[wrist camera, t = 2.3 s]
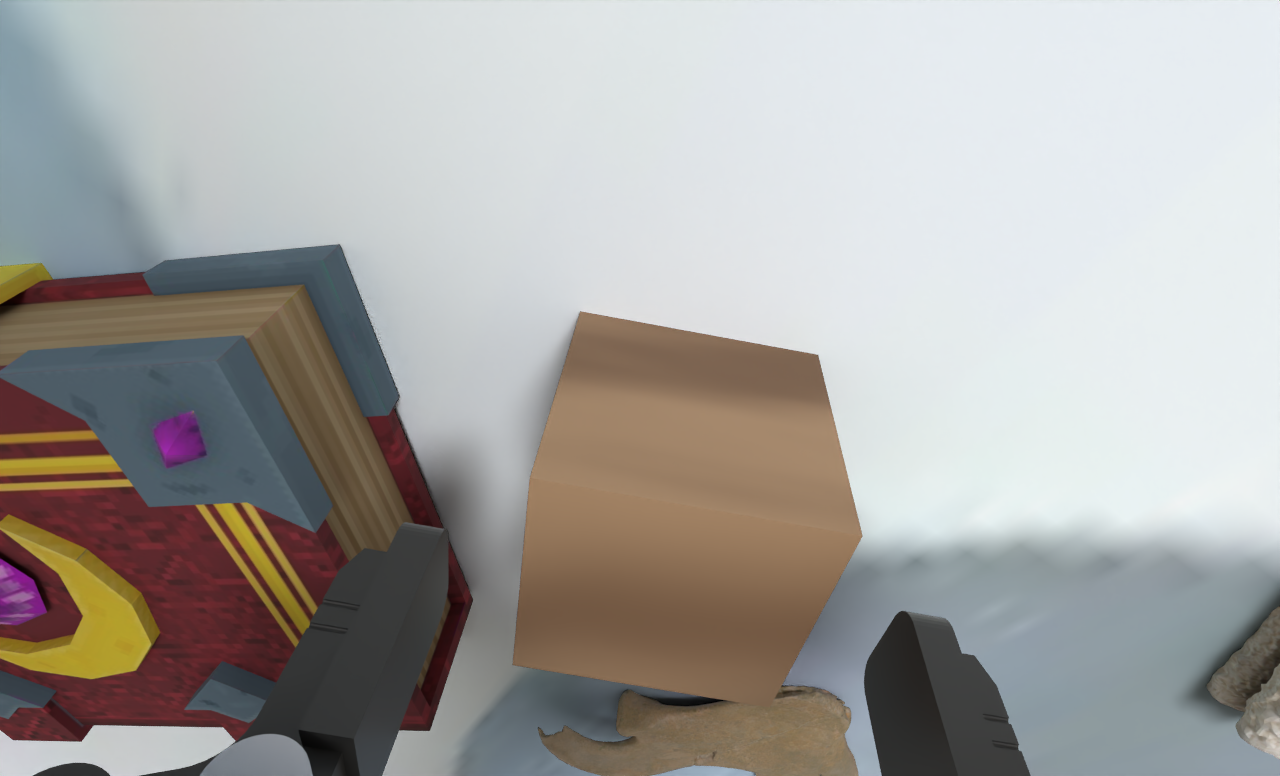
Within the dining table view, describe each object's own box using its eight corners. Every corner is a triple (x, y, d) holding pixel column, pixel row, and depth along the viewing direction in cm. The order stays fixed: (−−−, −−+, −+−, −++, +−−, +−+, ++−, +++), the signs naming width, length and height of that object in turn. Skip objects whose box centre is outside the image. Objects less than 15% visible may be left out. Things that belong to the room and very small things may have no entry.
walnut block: (580, 309, 14) (529, 477, 10) (817, 352, 14) (862, 536, 10) (558, 481, 17) (512, 665, 13) (754, 515, 17) (769, 707, 13)
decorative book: (486, 591, 20) (430, 766, 16) (15, 596, 22) (-139, 752, 18) (344, 231, 13) (190, 374, 9) (-305, 288, 16) (-657, 424, 12)
